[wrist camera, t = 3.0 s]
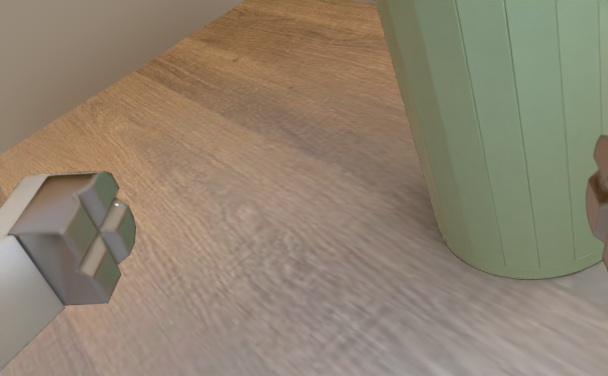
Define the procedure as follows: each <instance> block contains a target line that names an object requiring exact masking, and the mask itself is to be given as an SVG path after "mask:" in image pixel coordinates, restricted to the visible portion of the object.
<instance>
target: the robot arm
mask: <svg viewBox="0 0 608 376" xmlns="http://www.w3.org/2000/svg"><path fill="white" fill-rule="evenodd" d="M593 158H594V160H595V162H596V164H597V167H598V170H597V171H596V172H595V173H594V174H593V175H592V176H590V177H589V178H588V183H587V189H586V214H587V218H588V223H589V226H590V228H591V231H592V234H593V236H594V237H596V238H597V239H599V240H600V241H602V242H603V243H605V246H604V250H603V254H602V259H603V262H604V264H605V266H606V269H607V271H608V134H605V135H600V136H599V138H598V140H597V142H596V145H595V149H594V154H593ZM118 191H119V186H118V184H117V182H116V180H115V179H114V177H113V175H112V174H111V173H109V172H106V171H104V170H103V171H83V172H62V173H54V174H53V173H47V174H32V175H29V176H26V177H24V178H22V179H21V181H20V182H19V183H18V185H17V186H16V187H15V189H14V190H13V191H12V193H11V194H10V195H9V197H8V198H7V199H6V201H5V202H4V203H3V205H2V206H1V207H0V371H1V370H2V369H3V368H4V367H5V366H6V365H7V364H8V363H9V362H10V361H11V360H12V359H13V358H14V357H15V356H16V355H17V354H18V353H19V352H20V351H21V350H22V349H23V348H24V347H26V346H27V345H28V344H29V343H30V342H31V341H32V340H33V339H34V338H35V337H36V336H37V335H38V334H39V333H40V332H41V331H42V330H43V329H44V328H45V327H46V326H47V325H48V324H49V323H50V322H51V321H52V320H53V319H54V318H55V317H56V316H57V315H58V314H59V313H60V312H62V311H63V310H64V309H65V306H67V305H85V304H104V303H109V300H110V298H111V296H112V294H113V292H114V289H115V287H116V285H117V283H118V281H119V278H120V276H121V272H120V269H119V267H118V264H120V263H121V262H122V261H123V260H124V259H126V258H127V257H128V256H129V255H130V254H131V251H132V249H133V246H134V244H135V235H136V225H135V220H134V216H133V214H132V212H131V210H130V208H129V206H128V205H127V204H125V203H124V202H122V201H121V200H120V199H118V198H117V194H118Z"/></svg>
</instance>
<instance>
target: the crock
mask: <svg viewBox="0 0 608 376" xmlns="http://www.w3.org/2000/svg"><path fill="white" fill-rule="evenodd" d="M375 3H376V6H377V10H378V13H379V17H380V21H381V24H382V28H383V31H384V35H385V38H386V42H387V46H388V49H389V53H390V56H391V60H392V64H393V67H394V71H395V74H396V78H397V81H398V85H399V89H400V92H401V96H402V99H403V103H404V106H405V110H406V114H407V117H408V121H409V124H410V128H411V132H412V135H413V139H414V142H415V146H416V149H417V153H418V157H419V160H420V164H421V167H422V171H423V175H424V178H425V182H426V185H427V189H428V192H429V196H430V200H431V203H432V207H433V210H434V214H435V217H436V221H437V225H438V227H439V229H440V233H441V236H442V238H443V240H444V242H445V243H446V244H447V246H448V247H449V248H450V250H451V251H452V252H453V253H454V254H455V255H456V256H457V257H459V258H460V259H462V260H463V261H464V262H466V263H467V264H469V265H471V266H473V267H475V268H477V269H479V270H482V271H484V272H487V273H490V274H494V275H497V276H502V277H508V278H514V279H545V278H553V277H559V276H563V275H568V274H571V273H574V272H577V271H580V270H583V269H585V268H588V267H590V266H592V265H594V264H596V263H598V262H599V261H601V260H603V259H602V254H603V250H604V246H605V243H603V242H602V241H600V240H599V239H597V238H596V237H594V236H593V234H592V231H591V228H590V226H589V223H588V218H587V214H586V189H587V183H588V178H589V177H590V176H592V175H593V174H594V173H595V172H596V171H597V170H598V167H597V164H596V162H595V160H594V158H593V154H594V149H595V145H596V142H597V140H598V138H599V136H600V135H605V134H608V0H375Z"/></svg>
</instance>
